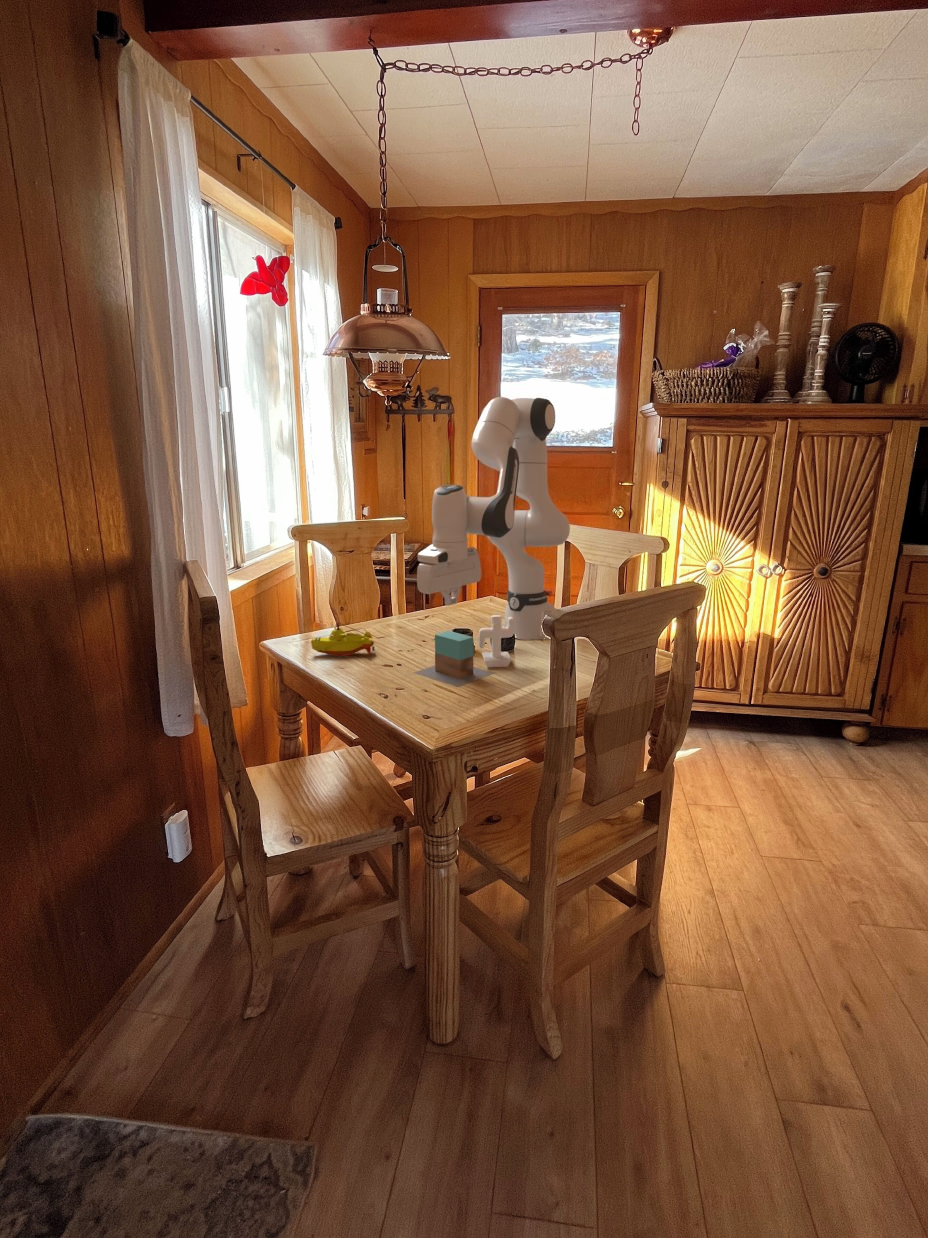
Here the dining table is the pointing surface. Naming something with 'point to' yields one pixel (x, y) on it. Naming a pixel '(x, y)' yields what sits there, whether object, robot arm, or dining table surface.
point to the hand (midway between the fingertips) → (451, 604)
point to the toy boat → (343, 642)
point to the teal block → (454, 645)
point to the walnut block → (454, 666)
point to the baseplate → (454, 681)
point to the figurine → (496, 641)
